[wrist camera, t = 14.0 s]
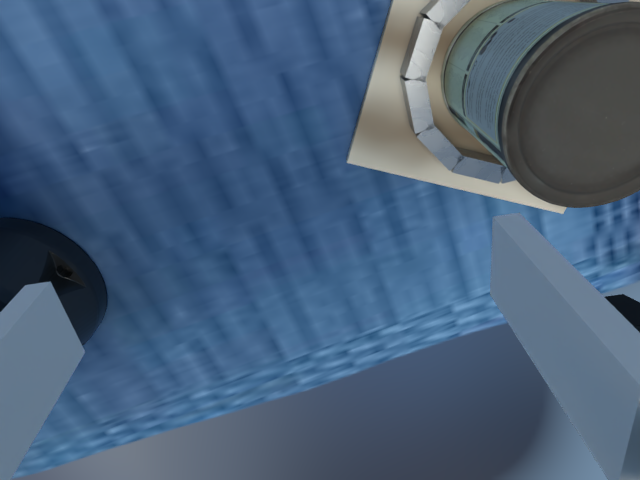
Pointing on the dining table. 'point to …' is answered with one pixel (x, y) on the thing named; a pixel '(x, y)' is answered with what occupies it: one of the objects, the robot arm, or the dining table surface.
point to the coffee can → (553, 95)
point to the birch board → (391, 116)
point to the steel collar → (417, 101)
